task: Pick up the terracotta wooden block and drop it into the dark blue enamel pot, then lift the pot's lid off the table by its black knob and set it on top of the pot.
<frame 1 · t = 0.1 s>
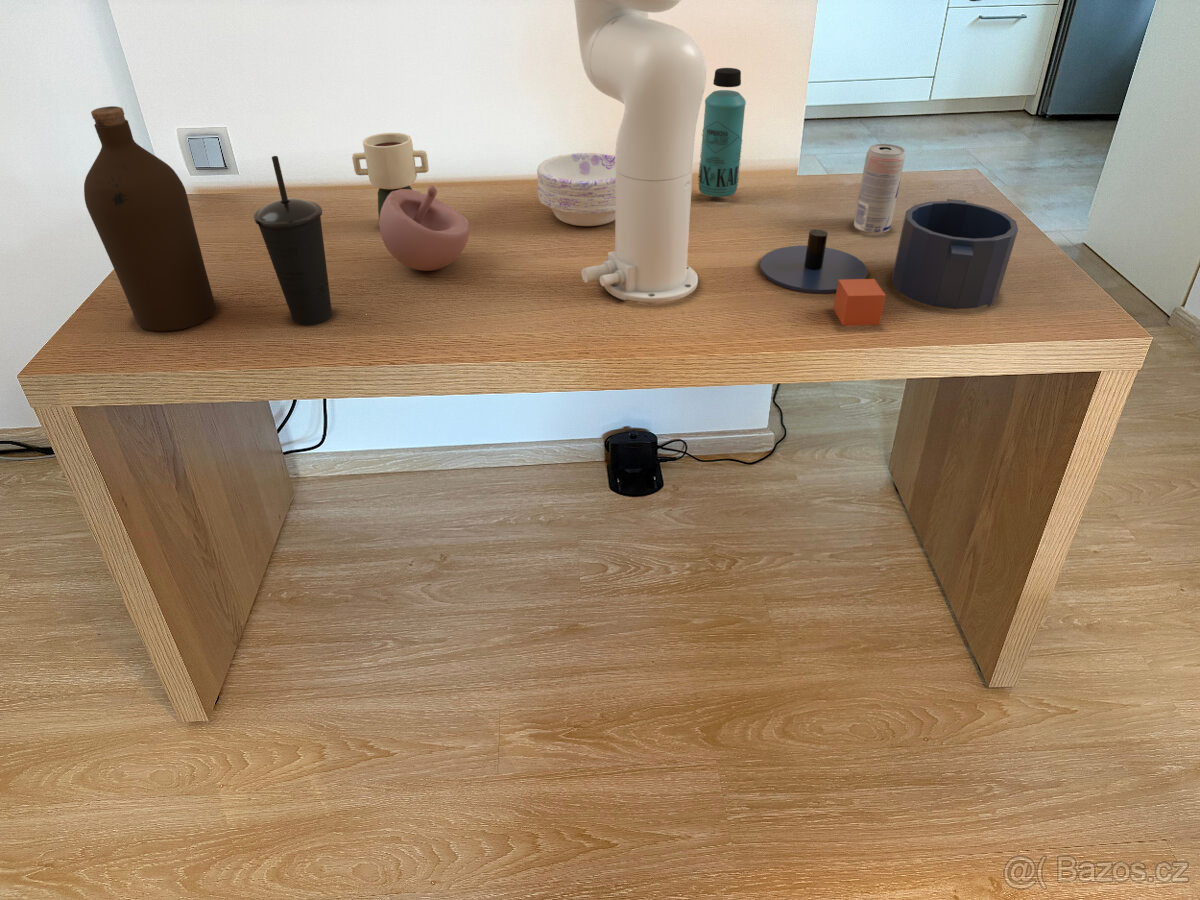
lid: (812, 270, 115), point 1 cm above the table
paper bowls: (587, 217, 133), on the table
energy drink: (871, 230, 128), on the table
block: (855, 320, 104), on the table
drinking cup: (312, 317, 106), on the table
mortar and pestle: (430, 268, 118), on the table
beverage bottle: (717, 200, 138), on the table
olive oil: (177, 315, 107), on the table
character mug: (400, 226, 131), on the table
pot: (942, 289, 111), on the table
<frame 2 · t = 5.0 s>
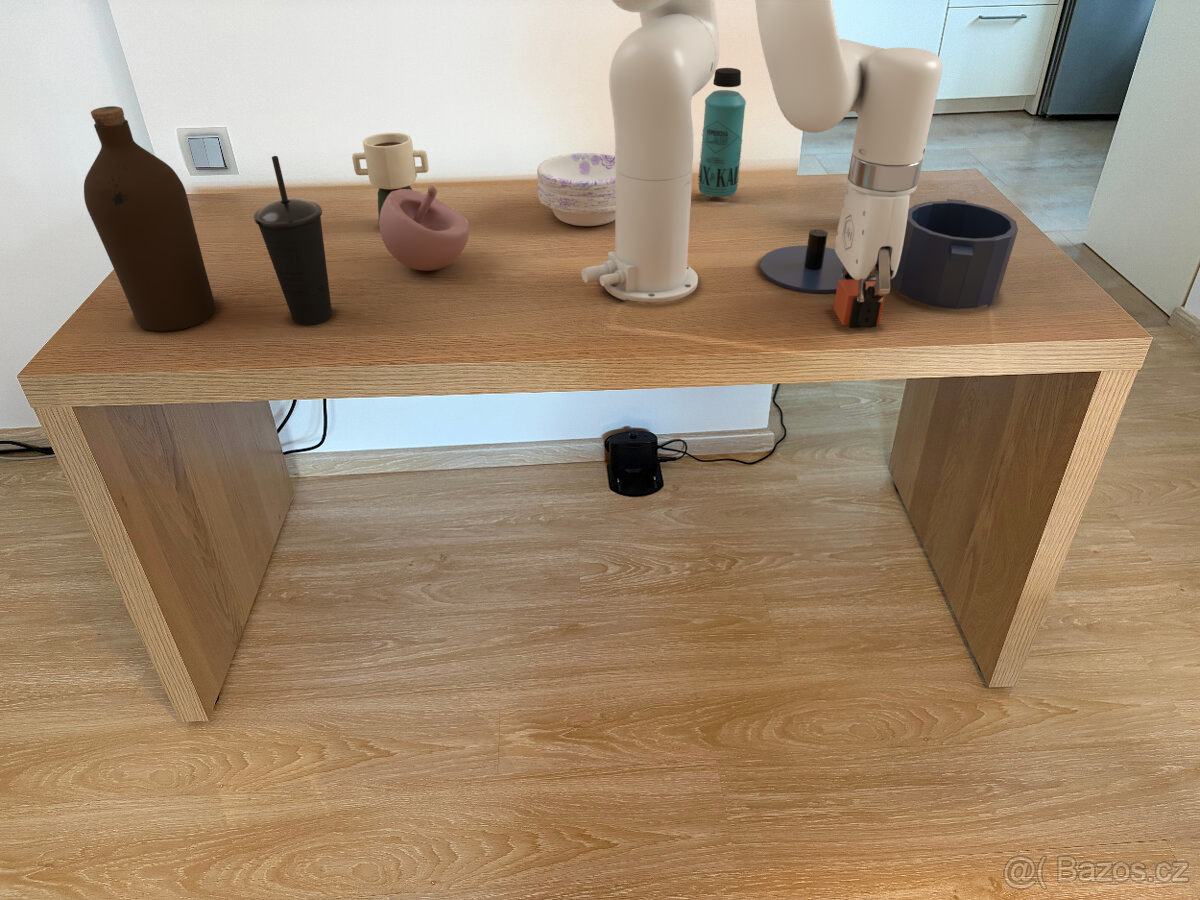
hand: (855, 317, 104), 0 cm above the table, tool pointing down, fingers closed on block, 4 cm apart
block: (855, 320, 104), on the table, touching gripper
everything else where it was.
when the fingers open (8 cm above the table, at t = 11.2 s): block drops 7 cm, resting on pot.
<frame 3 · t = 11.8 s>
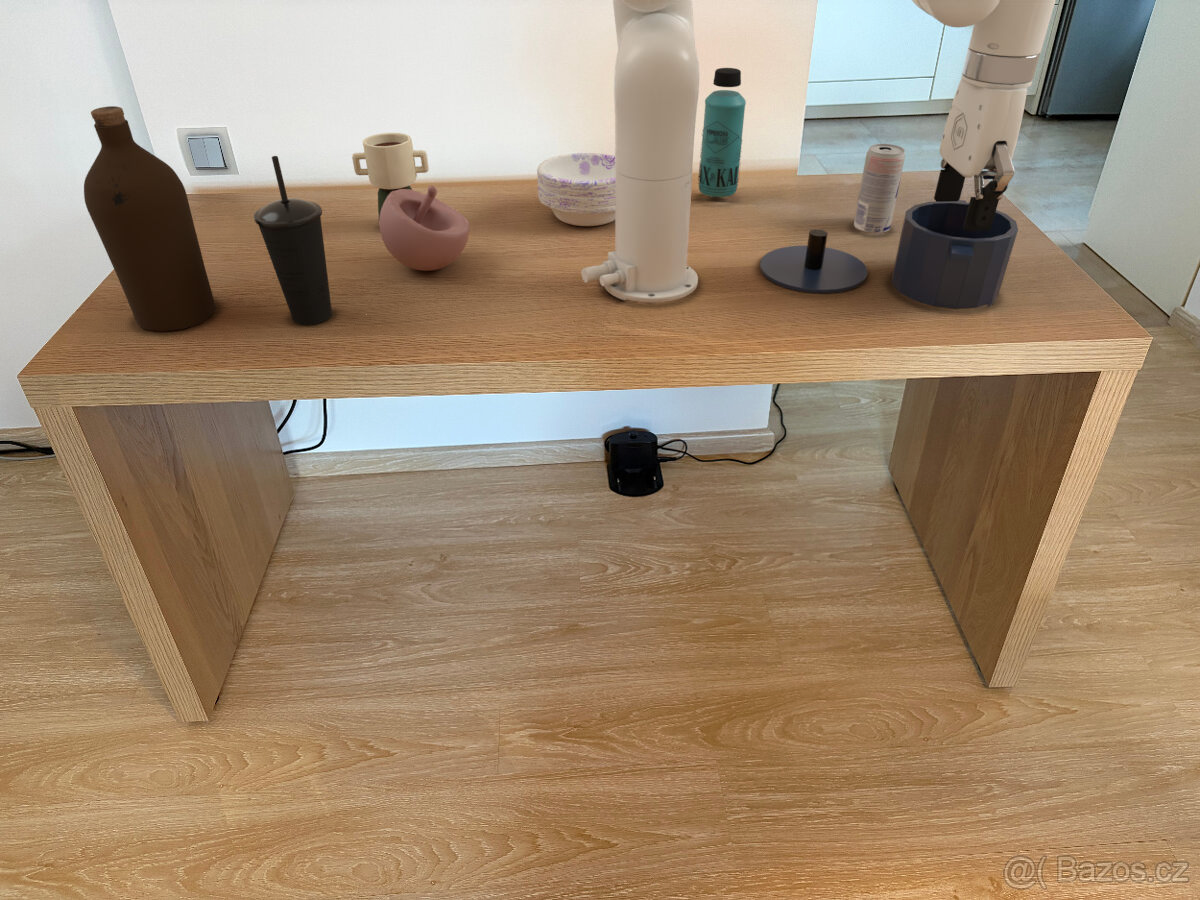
hand: (960, 214, 105), 10 cm above the table, tool pointing down, fingers open, 9 cm apart
block: (943, 285, 111), point 1 cm above the table, touching pot
everything else where it was.
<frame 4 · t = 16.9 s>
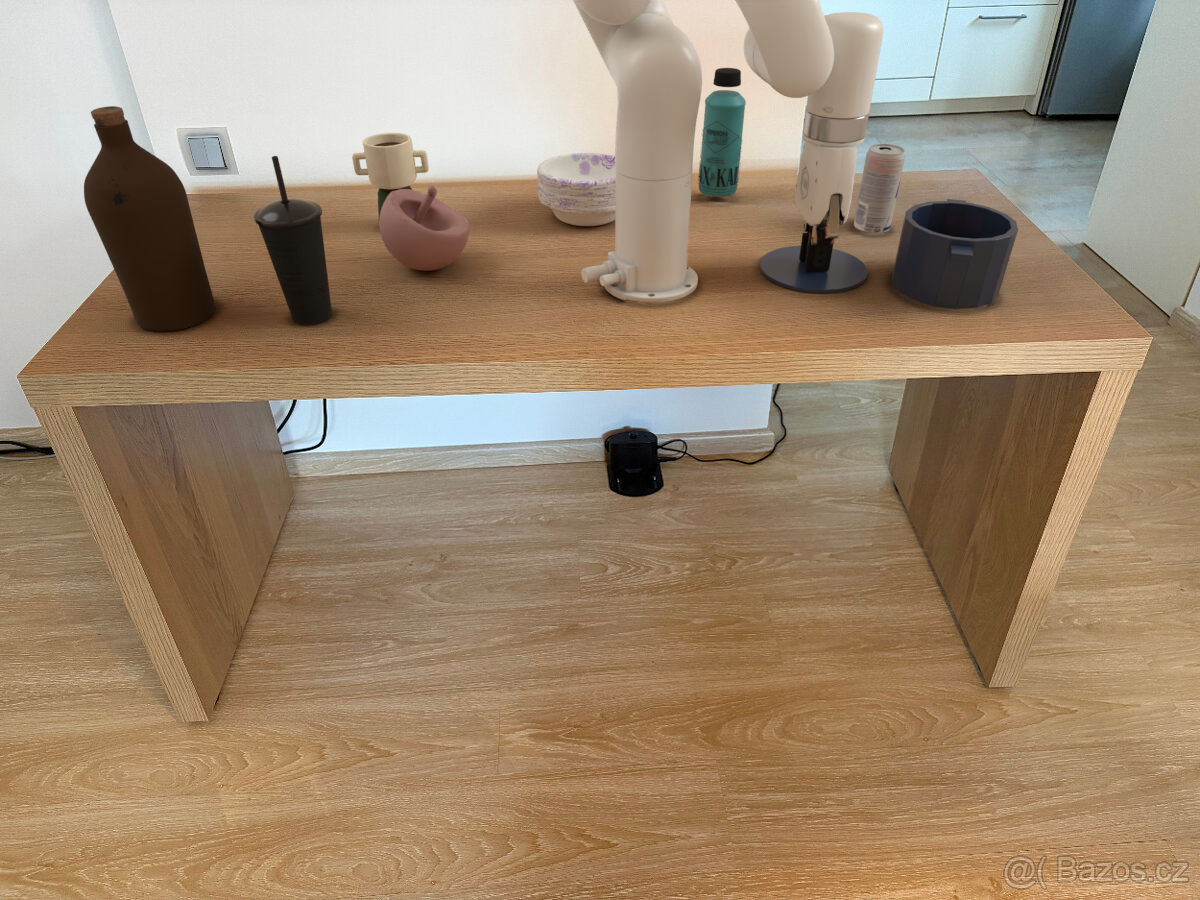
hand: (813, 264, 114), 1 cm above the table, tool pointing down, fingers closed on lid, 2 cm apart
lid: (812, 270, 115), point 1 cm above the table, touching gripper
everything else where it was.
when the fingers open (10 cm above the table, at t = 23.7 s): lid stays where it is, resting on pot.
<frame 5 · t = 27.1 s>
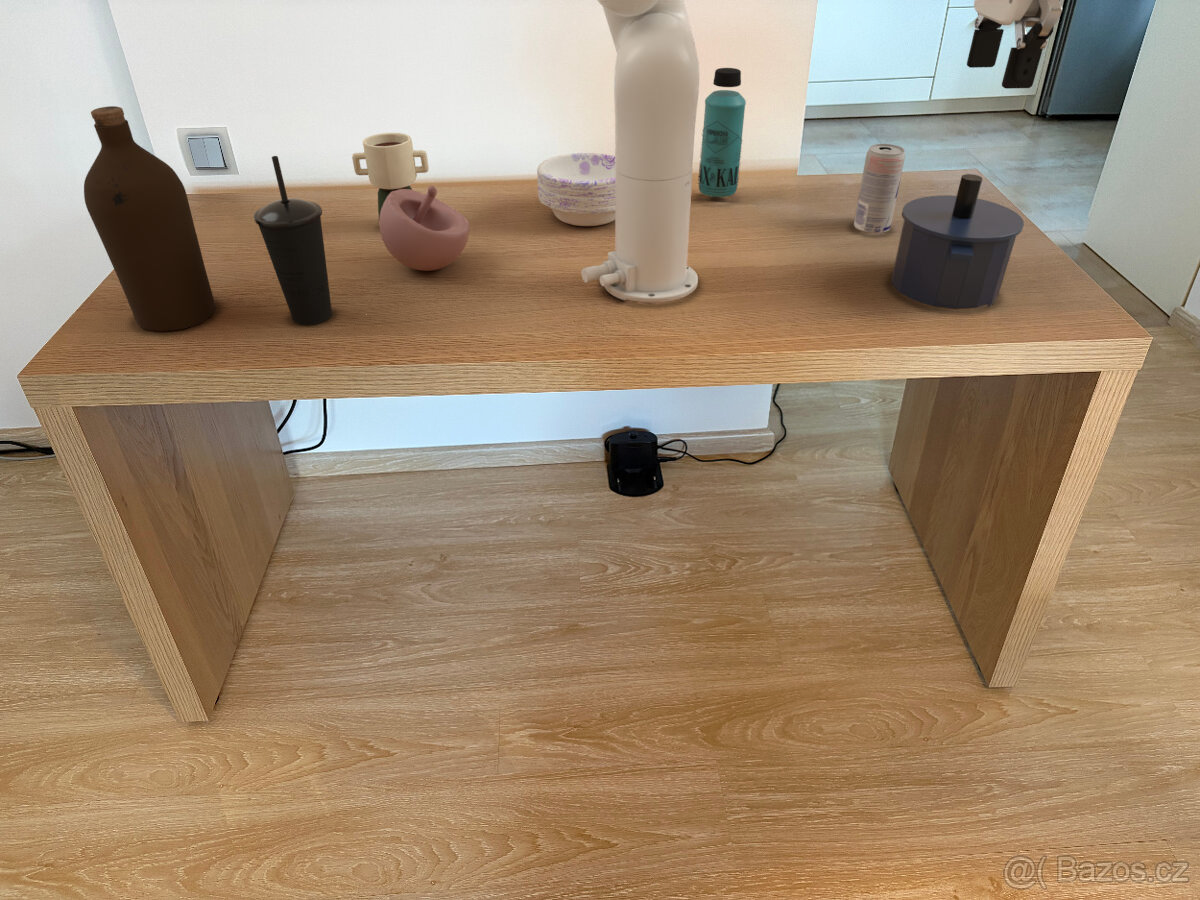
hand: (997, 76, 95), 26 cm above the table, tool pointing down, fingers open, 9 cm apart
lid: (961, 219, 105), point 9 cm above the table, touching pot
everything else where it was.
at the end: block inside the target area in the pot (0.0 cm from its centre), point 0.5 cm above the pot's base; lid 0.0 cm off-centre on the pot, point 9.5 cm above the pot's base; lid tilted 0° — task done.
